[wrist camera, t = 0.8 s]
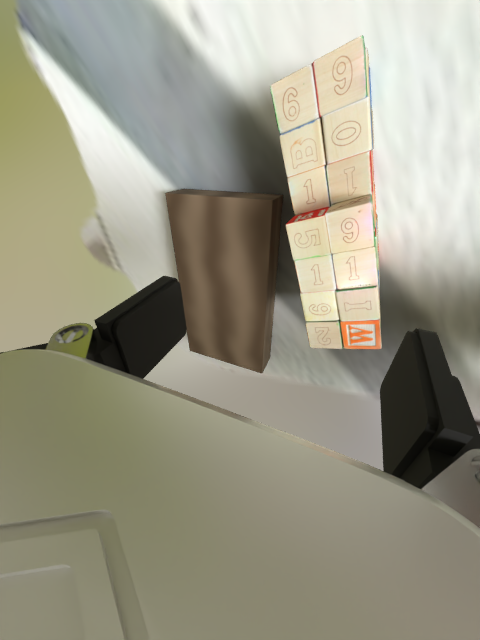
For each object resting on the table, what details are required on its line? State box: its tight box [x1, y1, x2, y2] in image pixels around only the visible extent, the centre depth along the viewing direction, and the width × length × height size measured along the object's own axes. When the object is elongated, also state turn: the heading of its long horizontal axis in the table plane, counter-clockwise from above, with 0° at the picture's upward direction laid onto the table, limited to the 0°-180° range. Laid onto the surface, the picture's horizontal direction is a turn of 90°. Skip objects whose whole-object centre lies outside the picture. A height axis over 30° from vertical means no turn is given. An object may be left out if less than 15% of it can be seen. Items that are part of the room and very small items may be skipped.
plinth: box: [165, 189, 283, 373], centre depth 38 cm, size 14×26×4 cm, turn 1°
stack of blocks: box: [270, 35, 382, 349], centre depth 23 cm, size 21×6×12 cm, turn 18°
